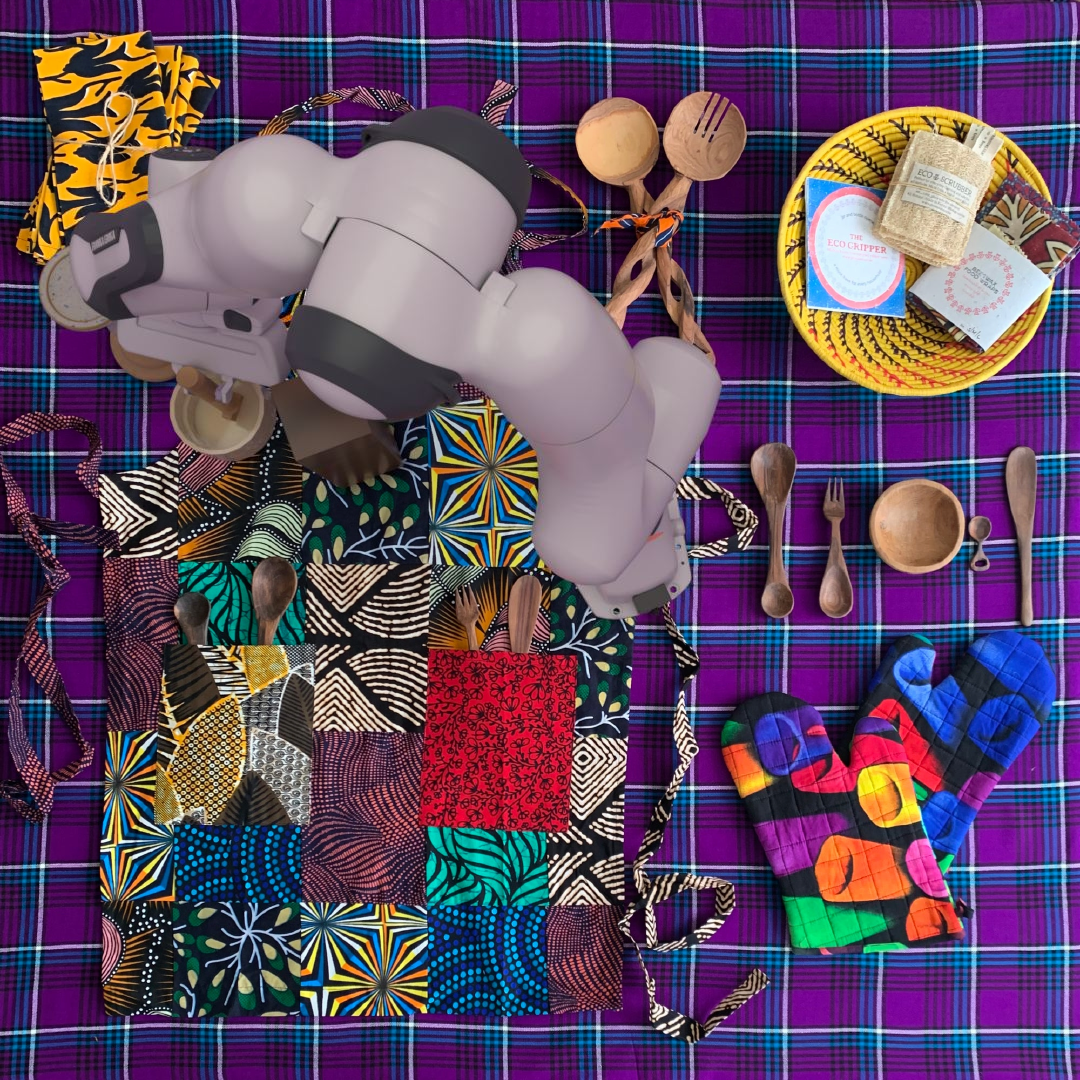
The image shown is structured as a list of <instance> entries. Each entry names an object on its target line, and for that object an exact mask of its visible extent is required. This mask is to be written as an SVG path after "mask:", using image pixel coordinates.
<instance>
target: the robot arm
mask: <svg viewBox="0 0 1080 1080" xmlns="http://www.w3.org/2000/svg"><path fill="white" fill-rule="evenodd" d="M360 140H361V141H360V142H361V144H362V147H361V148H359V151H358V154H356V155H354V156H352V157H349V158H341V157H338V156H336V155H334V154H332V153H330V152H329V151H327V150H326V149H324V148H323V147H322V146H320V145H319V144H317V143H314V142H313V141H311V140H308V139H306V138H305V137H301V136H297V135H295V134H294V135H293V134H288V133H287V134H286V133H271V134H263V135H258V136H253V137H250V138H247V139H244V140H242V141H239V142H237V143H235V144H233V145H231V146H230V147H227V148H226V149H225V150H223V151H222V152H219V151H218V150H215V149H213V148H210V147H202V146H195V145H194V146H192V145H189V146H188V145H178V146H177V145H176V146H175V145H173V146H167V147H166V146H165V147H162V148H158V149H157V150H154V151H153V152H152V153H150V155H149V159H148V168H147V198H146V199H145V200H144V199H143V200H140V201H138V202H135V203H134V204H131V205H129V206H127V207H123V208H121V209H119V210H117V211H115V212H96V211H94V212H93V211H90V212H88V213H87V214H86V215H84V217H83V218H81V220H80V221H79V222H78V223H77V225H76V226H75V228H74V229H73V230H72V231H71V234H70V241H69V245H70V247H69V259H70V267H71V272H72V276H73V279H74V282H75V285H76V287H77V289H78V291H79V293H80V295H81V296H82V298H83V300H84V302H85V303H86V304H87V305H88V306H89V307H91V308H92V309H93V310H95V311H96V312H97V313H99V314H101V315H102V316H104V317H106V318H108V319H109V320H111V321H116V320H117V338H118V342H119V344H120V345H121V346H122V347H123V349H124V350H125V351H127V352H131V353H135V354H139V355H143V356H147V357H151V358H155V359H159V360H163V361H167V362H171V363H172V369H173V371H174V372H175V373H176V375H177V372H178V371H179V369H180V368H182V367H184V366H191V367H194V368H196V369H200V370H204V371H208V372H212V373H216V374H220V375H221V376H222V381H224V382H226V381H227V383H226V384H222V383H220V384H219V386H218V387H217V388H216V389H215V396H216V397H215V401H218V402H222V403H225V404H228V403H229V402H230V401H231V399H232V396H233V395H232V386H233V385H234V384H235V382H236V381H237V379H240V380H244V381H248V382H252V383H256V384H260V385H264V386H265V387H267V388H269V387H270V386H273V385H276V384H278V383H281V382H284V381H286V379H288V377H289V376H290V374H291V371H292V372H293V373H294V374H296V376H299V377H300V378H301V379H302V380H303V382H304V383H305V384H306V385H307V387H308V388H309V389H310V390H311V391H312V392H313V393H314V394H315V395H316V396H317V397H318V398H319V399H321V400H322V401H323V402H325V403H326V404H328V405H329V406H331V407H332V408H334V409H336V410H338V411H340V412H343V413H345V414H348V415H350V416H354V417H358V418H363V419H371V420H380V421H383V422H388V423H389V424H390V423H398V422H404V421H408V420H413V419H417V418H420V417H422V416H424V415H426V414H428V413H429V412H431V411H433V410H434V409H436V408H438V407H441V408H444V409H445V408H446V409H452V408H453V409H454V408H455V407H457V405H459V404H460V403H461V402H462V395H461V394H460V392H459V390H458V389H456V388H455V387H454V386H456V385H458V384H461V383H465V384H469V385H470V386H473V387H475V388H477V389H478V390H480V391H481V392H482V393H484V394H485V395H486V396H487V397H488V398H489V399H490V400H491V402H493V403H494V405H495V406H496V407H497V408H498V410H499V411H500V412H501V414H502V415H503V416H504V417H505V419H506V420H507V421H508V422H509V423H510V424H511V425H512V427H513V428H515V430H516V431H517V432H519V434H520V435H521V436H522V438H524V439H525V441H526V443H528V444H529V445H530V447H531V449H533V451H534V452H535V456H536V461H537V462H536V464H537V477H538V478H537V481H538V482H537V485H538V487H537V488H538V490H537V502H536V508H535V514H534V518H533V522H532V527H531V530H530V538H531V539H530V540H531V542H532V545H533V548H534V550H535V552H536V554H537V555H538V557H539V559H540V560H541V562H543V565H545V566H546V567H547V568H548V569H549V570H550V571H551V572H552V573H553V574H555V575H557V576H558V577H560V578H562V579H564V581H568V582H571V583H573V584H574V586H575V587H576V588H577V590H578V592H579V594H580V595H581V597H582V598H583V600H584V601H585V603H586V605H587V606H588V607H589V609H590V611H591V612H592V613H593V615H594V616H595V618H600V619H603V620H604V619H605V620H625V619H629V618H630V619H631V618H634V617H638V616H641V615H645V614H647V613H649V612H651V614H653V616H654V617H659V616H660V608H662V607H663V606H665V605H667V604H669V603H670V602H673V600H675V599H676V598H677V597H679V596H680V595H681V594H682V593H683V592H684V591H685V590H686V589H687V588H688V586H689V585H690V583H691V581H692V571H691V567H690V561H689V556H688V550H687V544H686V539H685V535H686V527H685V523H684V520H683V518H682V517H681V511H680V506H679V501H678V495H677V489H678V487H679V485H680V483H681V481H682V479H683V478H684V476H685V474H686V472H687V470H688V469H689V468H690V467H689V466H690V465H691V463H692V461H693V459H694V458H695V456H696V454H697V453H698V450H699V449H700V447H701V445H702V443H703V441H704V440H705V437H706V436H707V434H708V432H709V429H710V426H711V423H712V421H713V418H714V415H715V412H716V408H717V405H718V403H719V400H720V395H721V393H722V388H723V382H722V379H721V376H720V374H719V371H718V369H717V367H716V365H715V364H714V362H713V361H712V360H711V358H710V357H709V356H708V354H706V353H705V352H704V351H703V350H702V349H700V348H699V347H698V346H696V345H695V344H693V343H691V342H689V341H687V340H684V339H681V338H678V337H673V336H652V337H647V338H644V339H641V340H639V341H638V342H636V344H635V345H634V346H633V347H632V346H631V344H630V343H629V341H628V339H627V338H626V336H625V334H624V332H623V330H622V329H621V327H620V326H619V325H618V323H617V321H615V318H613V317H612V314H610V312H609V311H608V310H607V309H606V308H605V306H604V305H603V304H602V303H601V302H600V301H599V300H598V298H596V297H595V296H594V295H593V293H591V292H590V291H589V290H588V289H587V288H585V287H584V286H583V285H582V284H581V283H579V282H578V281H577V280H576V279H574V278H573V277H571V276H570V275H568V274H566V273H564V272H563V271H559V270H557V269H555V268H548V267H542V266H541V267H540V266H534V267H526V268H521V269H518V270H515V271H512V272H509V273H508V274H505V275H502V274H500V271H501V269H502V267H503V264H504V261H505V259H506V256H507V254H508V251H509V248H510V246H511V243H512V240H513V237H514V234H515V233H517V232H518V231H520V230H521V228H522V227H523V225H524V224H523V223H524V220H525V217H526V214H527V211H528V206H529V203H530V199H531V193H532V186H533V177H532V172H531V170H530V168H529V166H528V164H527V161H526V159H525V158H524V155H523V154H522V152H521V151H520V149H519V148H518V146H517V145H516V144H515V143H514V142H513V140H512V139H511V138H509V136H508V135H506V133H505V132H503V131H502V130H501V129H500V128H498V127H497V126H496V125H494V124H493V123H491V122H490V121H488V120H487V119H485V118H483V117H482V116H480V115H478V114H477V113H474V112H472V111H469V110H467V109H465V108H461V107H457V106H453V105H439V106H433V107H426V108H420V109H415V110H411V111H408V112H407V113H404V114H403V115H401V116H399V117H397V118H396V119H394V120H393V121H392V122H390V123H388V124H387V125H384V124H379V123H374V122H373V123H369V124H368V125H366V126H365V127H364V128H362V129H361V132H360ZM305 290H306V293H305V295H304V298H303V301H302V304H298V305H295V307H294V309H293V313H292V316H291V319H290V323H289V326H288V328H287V326H286V324H285V322H284V321H283V320H282V319H281V318H280V316H281V313H282V312H283V309H284V302H283V299H282V298H285V297H289V296H292V295H295V294H298V293H300V292H302V291H305ZM183 389H184V393H185V394H189V395H193V396H196V395H194V394H193V393H191V392H190V391H188V390H186V389H185V388H183ZM678 546H679V548H678ZM672 587H673V588H675V591H674V592H672V591H671V588H672ZM615 609H618V610H619V612H618V613H617V614H615V612H614V610H615Z"/></svg>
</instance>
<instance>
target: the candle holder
mask: <svg viewBox="0 0 1080 1080" xmlns="http://www.w3.org/2000/svg"><path fill="white" fill-rule="evenodd" d="M69 247H70V244H69V245H67V246H64V247H63V248H61V249H59V250H57V252H55V253H54V254H53V255H52V256H51V257H50V258H49V259H48V260H47V261H46V263H45V265H44V267H43V268H42V270H41V273H40V276H39V281H38V296H39V299H40V303H41V306H42V308H43V310H44V311H45V312H46V314H47V315H48V316H49V317H50V318H51V320H53V321H54V322H55V323H56V324H57V325H59V326H61V327H63V328H64V329H67V330H71V331H73V332H85V333H86V332H93V331H97V330H100V329H103V328H107V330H108V331H109V332H110V335H109V342H110V348H111V353H112V355H113V357H114V359H115V360H116V362H117V364H118V365H119V366H120V368H122V370H124V371H125V372H126V373H127V374H128V375H130V376H132V377H133V378H136V379H138V380H140V381H143V382H148V383H149V382H150V383H161V382H167V381H171V380H173V379H176V373H175V372H174V371H173V369H172V363H171V362H167V361H163V360H159V359H155V358H151V357H147V356H143V355H139V354H135V353H131V352H127V351H125V350H124V349H123V347H122V346H121V345H120V344H119V342H118V338H117V320H116V321H111V320H109V319H108V318H106V317H104V316H102V315H101V314H99V313H97V312H96V311H95V310H93V309H92V308H91V307H89V306H88V305H87V304H86V303H85V302H84V300H83V298H82V296H81V295H80V293H79V291H78V289H77V287H76V285H75V282H74V279H73V276H72V272H71V267H70V259H69Z"/></svg>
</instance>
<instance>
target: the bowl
mask: <svg viewBox="0 0 1080 1080" xmlns="http://www.w3.org/2000/svg"><path fill="white" fill-rule="evenodd" d="M195 369H196V368H195ZM197 370H198V371H199V372H201V373H202V374H204V375H205V376H207V377H208V378H210V379H211V380H212V381H214V382H215V383H217V384H218V385H219V384H220V383H222V384H226V383H227V381H226V382H224V381H222V376H221V375H220V374H216V373H212V372H208V371H204V370H200V369H197ZM232 391H233V392H237V393H239V394H241V395H242V396H243V400H242V404H241V407H240V411H239V415H238V418H237V422H233V421H229V420H226V419H225V418H223V417H222V411H220V410H219V409H217V408H216V407H214V406H212V405H211V404H209V403H207V402H206V401H204V400H203V399H201V398H199V397H198V396H193V395H189V394H185V393H184V389H183V387H182V386H180V385H179V384H178V383H177V384H176V385H175V387H174V388H173V392H172V394H171V398H170V400H169V417H170V418H169V419H170V421H171V424H172V428H173V430H174V432H175V433H176V434H177V436H178V437H179V439H180V440H181V441H182V443H184V444H185V445H187V446H188V447H190V448H191V449H193V450H194V451H196V452H198V453H200V454H202V455H204V456H207V457H209V458H210V459H214V460H218V461H222V462H239V461H242V460H244V459H247V458H250V457H253V456H254V455H255V454H257V453H258V452H259V451H260V450H262V449H263V448H264V447H265V446H266V445H267V443H268V442H269V440H270V439H271V437H272V436H273V433H274V430H275V428H276V427H275V426H276V423H277V408H276V405H275V402H274V400H273V397H272V394H271V391H270V389H269V388H268V387H267V386H264V385H260V384H256V383H252V382H248V381H244V380H240V379H237V381H236V382H235V384H234V385H233V386H232Z"/></svg>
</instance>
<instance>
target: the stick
mask: <svg viewBox="0 0 1080 1080" xmlns="http://www.w3.org/2000/svg"><path fill="white" fill-rule="evenodd" d="M175 379H176V382H177V384H179V385H180V386H182V387H183V388H185V389H186V390H188V391H190V392H191V393H193V394H194V395H196V396H198V397H199V398H201V399H203V400H204V401H206V402H207V403H209V404H211V405H212V406H214V407H216V408H217V409H219V410H220V411H222V417H223V418H225V419H226V420H229V421H233V422H237V418H238V415H239V411H240V407H241V404H242V400H243V396H242V395H241V394H239V393H237V392H233V391H232V395H233V396H232V399H231V401H230V402H229V403H228V404H225V403H222V402H218V401H215V397H216V396H215V389H216V388H217V387H218V386H219V385H218V384H217V383H215V382H214V381H212V380H211V379H210V378H208V377H207V376H205V375H204V374H202V373H201V372H199V371H198V370H197V369H195V368H194V367H191V366H184V367H182V368H180V369H179V371H178V372H177V375H176V378H175Z"/></svg>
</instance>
